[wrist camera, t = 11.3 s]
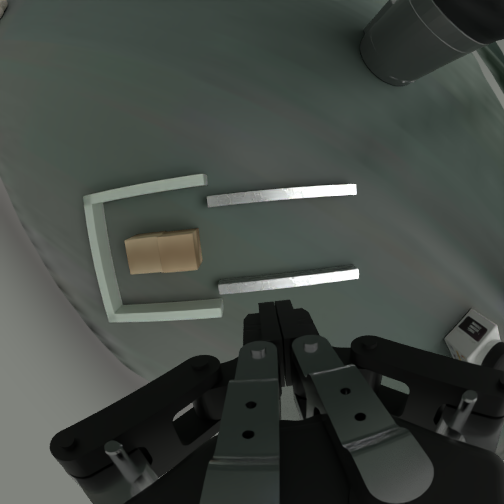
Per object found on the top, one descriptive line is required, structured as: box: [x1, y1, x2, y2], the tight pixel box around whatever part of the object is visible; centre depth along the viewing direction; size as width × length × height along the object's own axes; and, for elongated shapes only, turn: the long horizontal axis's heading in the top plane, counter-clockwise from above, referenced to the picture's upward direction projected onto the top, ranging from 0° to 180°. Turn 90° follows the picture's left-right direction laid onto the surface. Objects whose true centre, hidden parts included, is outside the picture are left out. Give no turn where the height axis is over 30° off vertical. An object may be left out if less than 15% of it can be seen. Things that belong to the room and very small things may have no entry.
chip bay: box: [83, 174, 224, 322], centre depth 32 cm, size 16×15×3 cm
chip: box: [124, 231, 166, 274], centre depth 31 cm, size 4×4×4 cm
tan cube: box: [157, 228, 203, 273], centre depth 31 cm, size 4×4×4 cm
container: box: [445, 309, 504, 371], centre depth 32 cm, size 8×8×13 cm
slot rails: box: [207, 184, 359, 294], centre depth 32 cm, size 11×17×2 cm
